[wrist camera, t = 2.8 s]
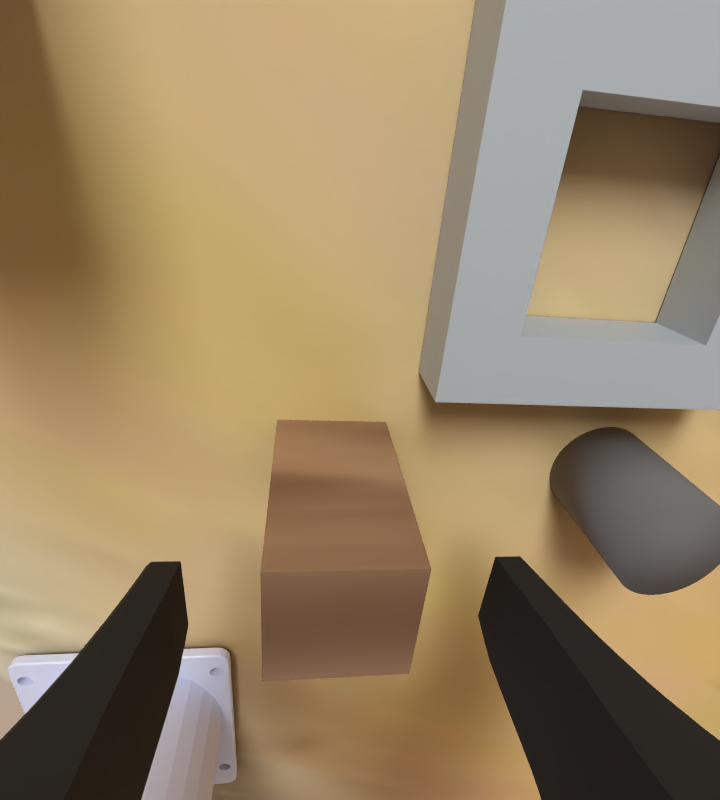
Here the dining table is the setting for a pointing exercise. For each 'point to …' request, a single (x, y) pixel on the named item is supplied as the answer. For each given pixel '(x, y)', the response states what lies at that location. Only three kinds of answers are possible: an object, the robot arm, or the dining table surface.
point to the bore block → (534, 199)
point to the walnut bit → (339, 555)
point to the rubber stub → (637, 511)
